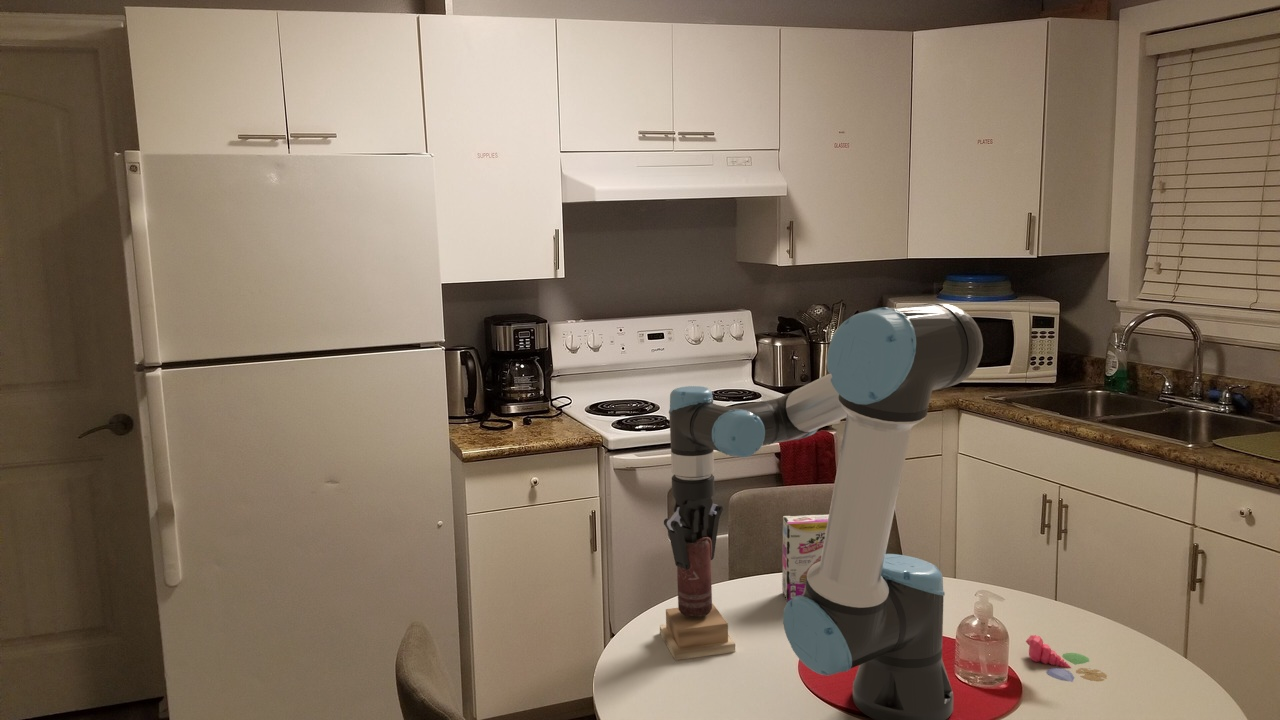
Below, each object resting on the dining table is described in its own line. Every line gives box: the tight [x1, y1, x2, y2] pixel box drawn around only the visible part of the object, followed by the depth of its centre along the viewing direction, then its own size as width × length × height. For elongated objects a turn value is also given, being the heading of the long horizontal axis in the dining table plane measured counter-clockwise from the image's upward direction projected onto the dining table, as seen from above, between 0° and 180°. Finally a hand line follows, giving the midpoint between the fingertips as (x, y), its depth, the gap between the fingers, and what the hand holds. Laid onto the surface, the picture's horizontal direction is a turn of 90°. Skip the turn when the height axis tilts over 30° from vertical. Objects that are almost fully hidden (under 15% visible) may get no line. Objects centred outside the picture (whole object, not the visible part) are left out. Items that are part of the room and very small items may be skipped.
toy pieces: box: [1025, 634, 1108, 683], centre depth 153 cm, size 12×11×4 cm
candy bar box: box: [781, 513, 829, 602], centre depth 184 cm, size 11×5×16 cm, turn 94°
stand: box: [659, 602, 736, 661], centre depth 166 cm, size 11×11×5 cm
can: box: [676, 536, 713, 617], centre depth 165 cm, size 6×6×14 cm
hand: (695, 601), depth 165 cm, fingers closed
